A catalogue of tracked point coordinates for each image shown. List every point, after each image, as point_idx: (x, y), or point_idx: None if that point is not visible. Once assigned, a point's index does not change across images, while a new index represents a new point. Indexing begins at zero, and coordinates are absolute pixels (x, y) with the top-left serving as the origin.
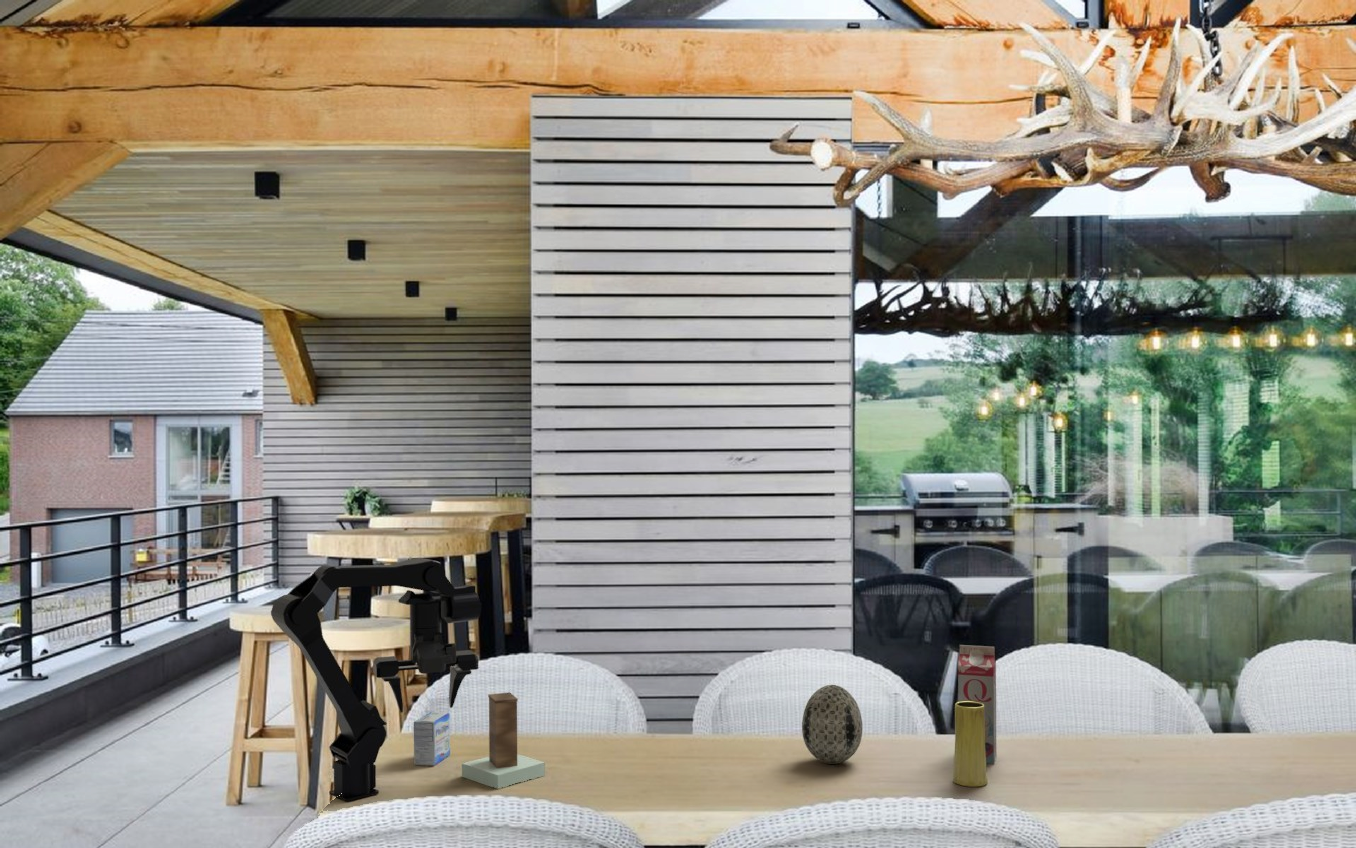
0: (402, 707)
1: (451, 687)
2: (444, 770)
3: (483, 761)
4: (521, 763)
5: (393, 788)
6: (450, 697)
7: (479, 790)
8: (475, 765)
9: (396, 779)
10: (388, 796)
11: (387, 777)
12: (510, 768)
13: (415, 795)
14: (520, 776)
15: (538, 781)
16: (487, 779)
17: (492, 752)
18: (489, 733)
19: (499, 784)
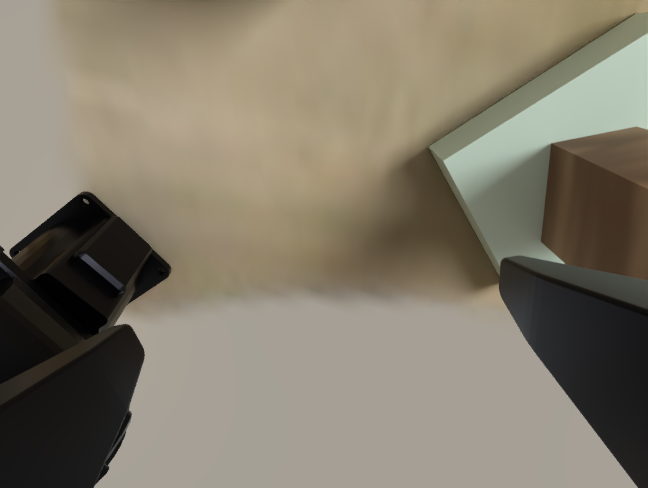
0: (131, 392)
1: (627, 416)
2: (374, 38)
3: (526, 152)
4: None
5: (206, 221)
6: (544, 344)
7: (453, 281)
8: (484, 198)
9: (197, 124)
10: (205, 286)
11: (156, 89)
12: None
13: (280, 290)
14: None
15: None
16: (492, 258)
17: (572, 209)
18: (630, 188)
19: None
